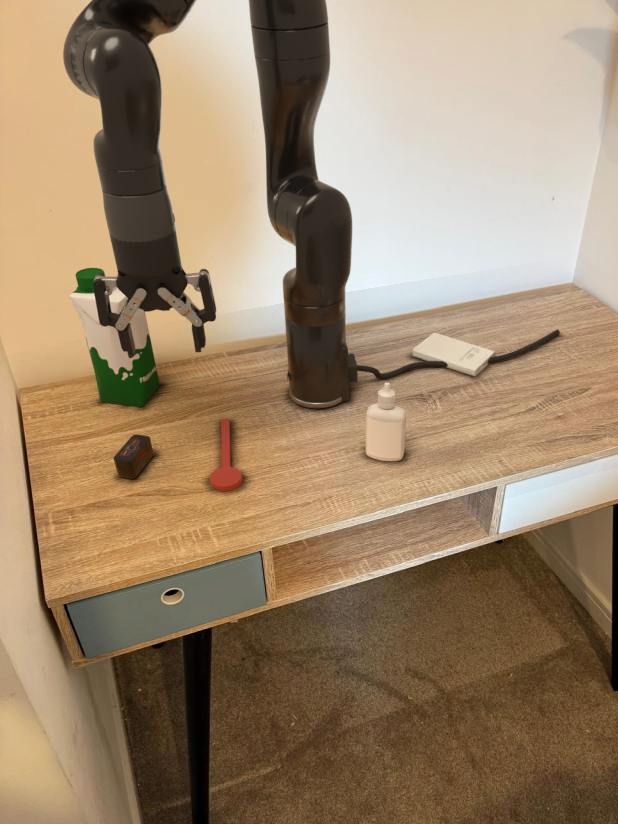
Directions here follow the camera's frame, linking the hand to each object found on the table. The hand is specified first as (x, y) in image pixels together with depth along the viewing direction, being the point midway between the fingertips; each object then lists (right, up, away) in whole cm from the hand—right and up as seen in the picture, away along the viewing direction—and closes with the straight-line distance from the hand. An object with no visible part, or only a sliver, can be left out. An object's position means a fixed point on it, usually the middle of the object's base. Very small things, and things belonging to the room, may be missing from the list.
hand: (165, 351), depth 97 cm
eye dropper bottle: (+29, -13, +12) cm, 34 cm away
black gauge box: (-7, -14, +9) cm, 18 cm away
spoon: (+6, -13, +10) cm, 18 cm away
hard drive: (+41, +6, +35) cm, 54 cm away
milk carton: (-12, -2, +23) cm, 26 cm away
